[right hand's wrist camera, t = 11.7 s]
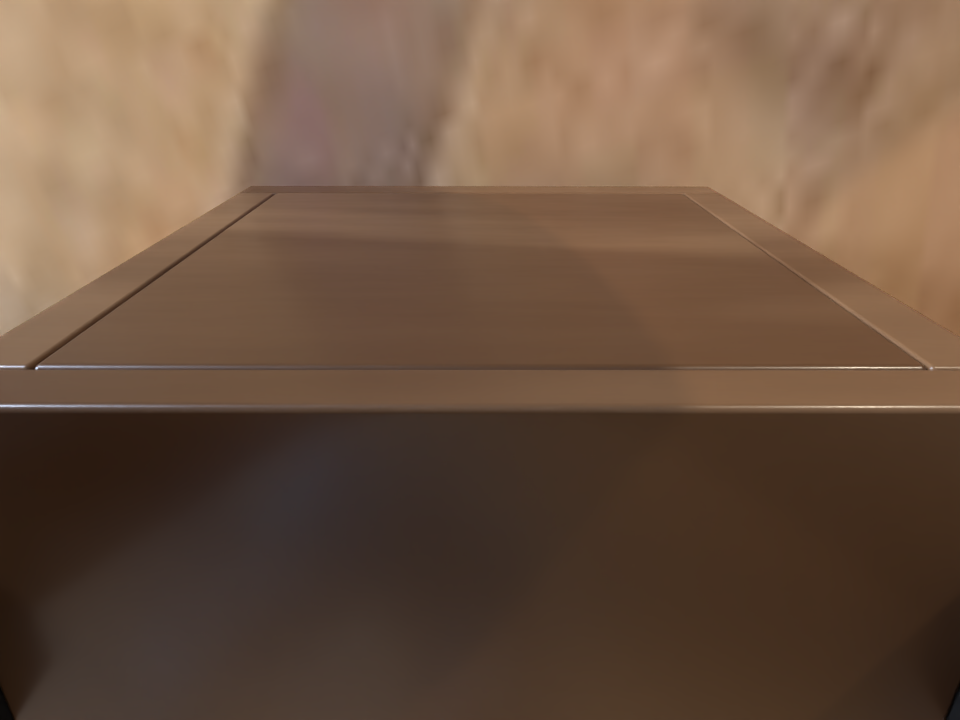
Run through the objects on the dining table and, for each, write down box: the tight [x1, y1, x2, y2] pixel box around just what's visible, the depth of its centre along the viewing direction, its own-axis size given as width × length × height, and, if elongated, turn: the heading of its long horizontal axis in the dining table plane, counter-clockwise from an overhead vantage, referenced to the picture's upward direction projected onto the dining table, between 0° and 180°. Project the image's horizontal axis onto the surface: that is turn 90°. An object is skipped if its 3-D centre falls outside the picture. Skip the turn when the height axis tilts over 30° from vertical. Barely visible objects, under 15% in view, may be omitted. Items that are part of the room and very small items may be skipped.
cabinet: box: [0, 186, 960, 720], centre depth 16 cm, size 22×11×11 cm, turn 0°
